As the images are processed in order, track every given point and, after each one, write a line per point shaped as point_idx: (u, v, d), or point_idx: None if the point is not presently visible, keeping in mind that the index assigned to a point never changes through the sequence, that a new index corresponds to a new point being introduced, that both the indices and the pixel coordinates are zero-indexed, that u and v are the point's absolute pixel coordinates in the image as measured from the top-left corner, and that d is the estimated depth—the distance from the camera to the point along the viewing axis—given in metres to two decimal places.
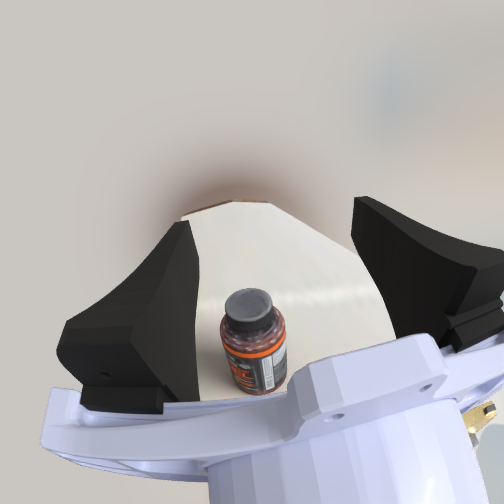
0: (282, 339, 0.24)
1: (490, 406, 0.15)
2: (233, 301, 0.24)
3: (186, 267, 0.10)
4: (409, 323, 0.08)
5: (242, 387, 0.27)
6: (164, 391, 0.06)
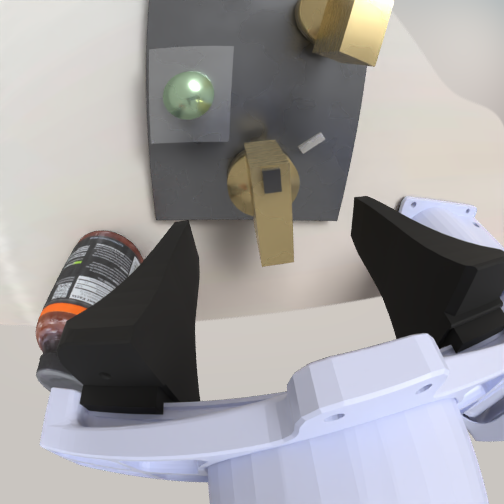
0: None
1: None
2: None
3: (186, 267, 0.10)
4: (409, 323, 0.08)
5: None
6: (164, 391, 0.06)
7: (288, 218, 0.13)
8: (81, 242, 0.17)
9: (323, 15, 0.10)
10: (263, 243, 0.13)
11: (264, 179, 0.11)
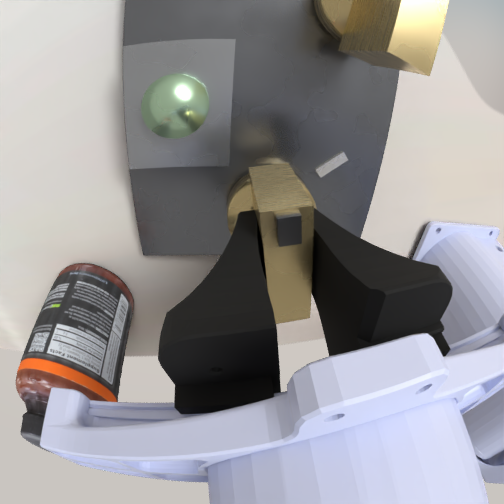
0: (70, 372, 0.10)
1: None
2: None
3: (260, 256, 0.10)
4: (335, 342, 0.08)
5: None
6: (272, 381, 0.06)
7: (307, 272, 0.10)
8: (60, 277, 0.15)
9: (351, 4, 0.07)
10: (273, 301, 0.11)
11: (279, 229, 0.08)
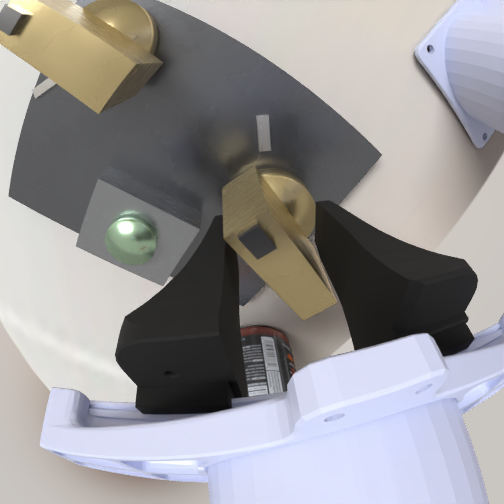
0: None
1: (3, 25, 0.03)
2: None
3: (232, 260, 0.10)
4: (363, 335, 0.08)
5: (290, 349, 0.21)
6: (230, 386, 0.06)
7: (305, 267, 0.10)
8: None
9: None
10: (291, 301, 0.11)
11: (246, 246, 0.09)
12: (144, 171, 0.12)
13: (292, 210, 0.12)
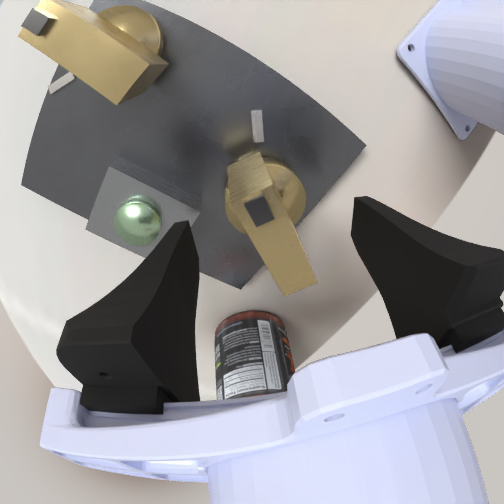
0: None
1: (31, 26, 0.04)
2: None
3: (186, 267, 0.10)
4: (409, 323, 0.08)
5: (286, 334, 0.23)
6: (164, 391, 0.06)
7: (294, 242, 0.11)
8: (215, 343, 0.22)
9: None
10: (276, 274, 0.12)
11: (249, 212, 0.10)
12: (150, 160, 0.13)
13: (284, 197, 0.14)
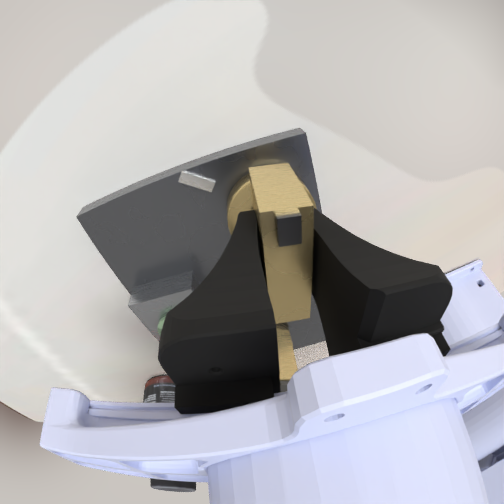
0: None
1: (283, 233, 0.08)
2: None
3: (260, 256, 0.10)
4: (335, 342, 0.08)
5: None
6: (272, 381, 0.06)
7: None
8: (148, 389, 0.24)
9: None
10: None
11: None
12: None
13: None
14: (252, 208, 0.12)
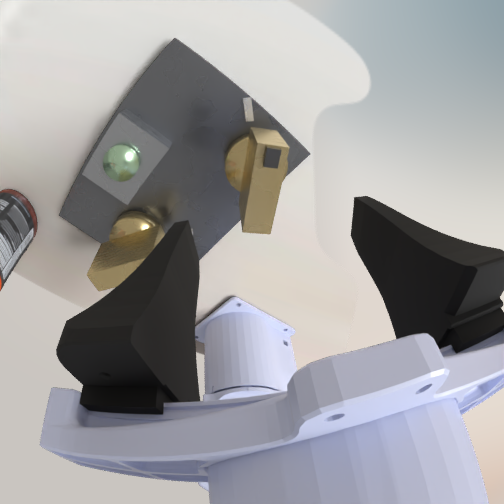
0: None
1: (268, 158, 0.13)
2: None
3: (186, 267, 0.10)
4: (409, 323, 0.08)
5: None
6: (164, 391, 0.06)
7: None
8: (4, 195, 0.17)
9: (243, 171, 0.18)
10: (103, 272, 0.17)
11: None
12: (164, 164, 0.18)
13: None
14: (245, 155, 0.17)
